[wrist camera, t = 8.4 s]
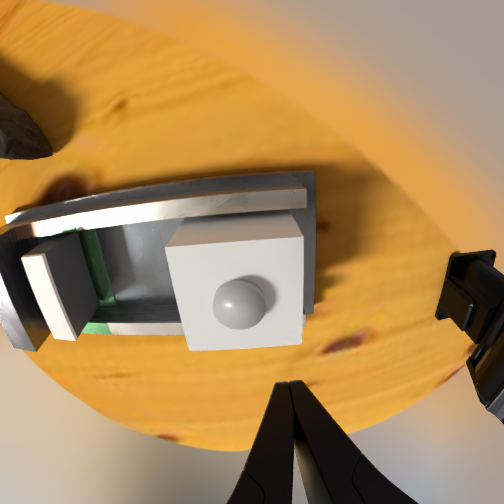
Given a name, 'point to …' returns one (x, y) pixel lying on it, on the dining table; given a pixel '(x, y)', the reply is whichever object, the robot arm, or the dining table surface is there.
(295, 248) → the knobbed white cube
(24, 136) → the hand tool
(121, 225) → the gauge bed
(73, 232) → the white flat block
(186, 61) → the dining table surface
